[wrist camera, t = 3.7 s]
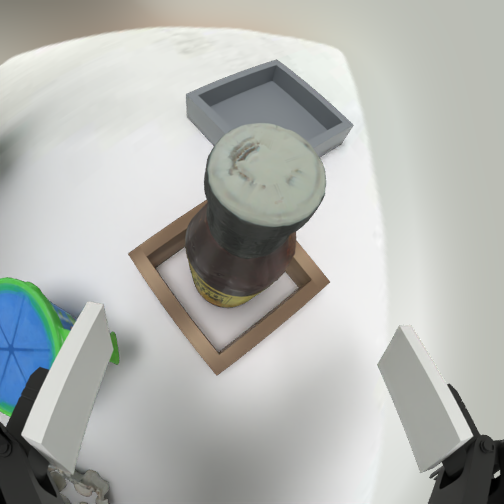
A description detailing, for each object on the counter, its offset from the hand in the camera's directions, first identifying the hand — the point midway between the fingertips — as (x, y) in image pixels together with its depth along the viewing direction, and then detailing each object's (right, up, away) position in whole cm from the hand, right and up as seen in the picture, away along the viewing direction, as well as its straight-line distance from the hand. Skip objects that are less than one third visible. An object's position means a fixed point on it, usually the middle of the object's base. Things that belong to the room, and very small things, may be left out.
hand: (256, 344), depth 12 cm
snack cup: (-19, -6, +12) cm, 23 cm away
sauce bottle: (-3, +1, +16) cm, 17 cm away
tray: (+2, +19, +22) cm, 29 cm away
